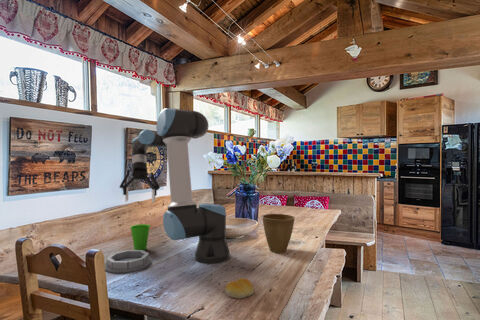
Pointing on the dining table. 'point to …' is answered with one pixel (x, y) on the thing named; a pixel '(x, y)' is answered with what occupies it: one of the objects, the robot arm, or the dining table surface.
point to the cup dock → (127, 261)
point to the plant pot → (278, 231)
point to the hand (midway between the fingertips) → (140, 201)
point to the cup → (140, 236)
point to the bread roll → (239, 288)
